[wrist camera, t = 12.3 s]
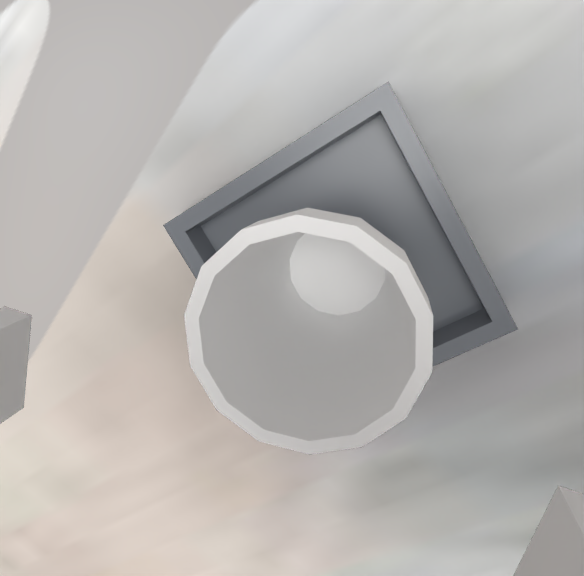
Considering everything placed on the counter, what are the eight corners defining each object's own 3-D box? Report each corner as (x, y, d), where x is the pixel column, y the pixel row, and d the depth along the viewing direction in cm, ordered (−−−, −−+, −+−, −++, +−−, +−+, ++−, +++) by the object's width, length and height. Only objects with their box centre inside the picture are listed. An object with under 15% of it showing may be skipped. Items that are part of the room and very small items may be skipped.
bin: (503, 309, 30) (518, 329, 27) (298, 402, 35) (289, 429, 31) (388, 90, 28) (388, 81, 25) (186, 218, 33) (163, 225, 29)
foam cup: (328, 363, 32) (291, 492, 20) (235, 258, 32) (138, 324, 19) (448, 275, 29) (490, 363, 17) (348, 157, 29) (318, 158, 16)
